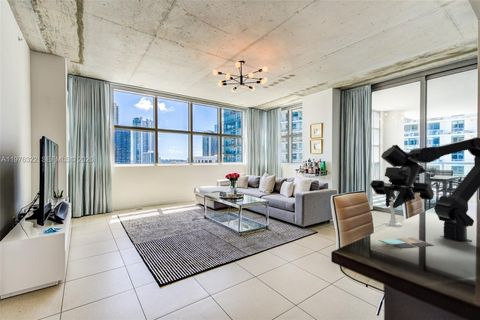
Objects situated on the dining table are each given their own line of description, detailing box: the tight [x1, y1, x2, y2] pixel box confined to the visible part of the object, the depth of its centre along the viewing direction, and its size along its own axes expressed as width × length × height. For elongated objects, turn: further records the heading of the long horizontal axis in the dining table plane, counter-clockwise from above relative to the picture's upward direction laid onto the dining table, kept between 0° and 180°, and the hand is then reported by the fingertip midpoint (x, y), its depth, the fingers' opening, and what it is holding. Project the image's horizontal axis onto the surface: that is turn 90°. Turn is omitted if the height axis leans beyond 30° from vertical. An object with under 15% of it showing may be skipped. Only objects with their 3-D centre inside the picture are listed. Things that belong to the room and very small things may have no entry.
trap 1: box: [392, 244, 417, 249], centre depth 74 cm, size 6×3×1 cm, turn 102°
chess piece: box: [384, 197, 403, 228], centre depth 79 cm, size 5×5×10 cm
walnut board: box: [378, 237, 437, 250], centre depth 78 cm, size 15×8×1 cm, turn 102°
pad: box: [379, 238, 407, 246], centre depth 79 cm, size 7×5×1 cm
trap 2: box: [411, 241, 434, 248], centre depth 76 cm, size 6×3×1 cm, turn 102°
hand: (390, 206), depth 78 cm, fingers closed on chess piece
